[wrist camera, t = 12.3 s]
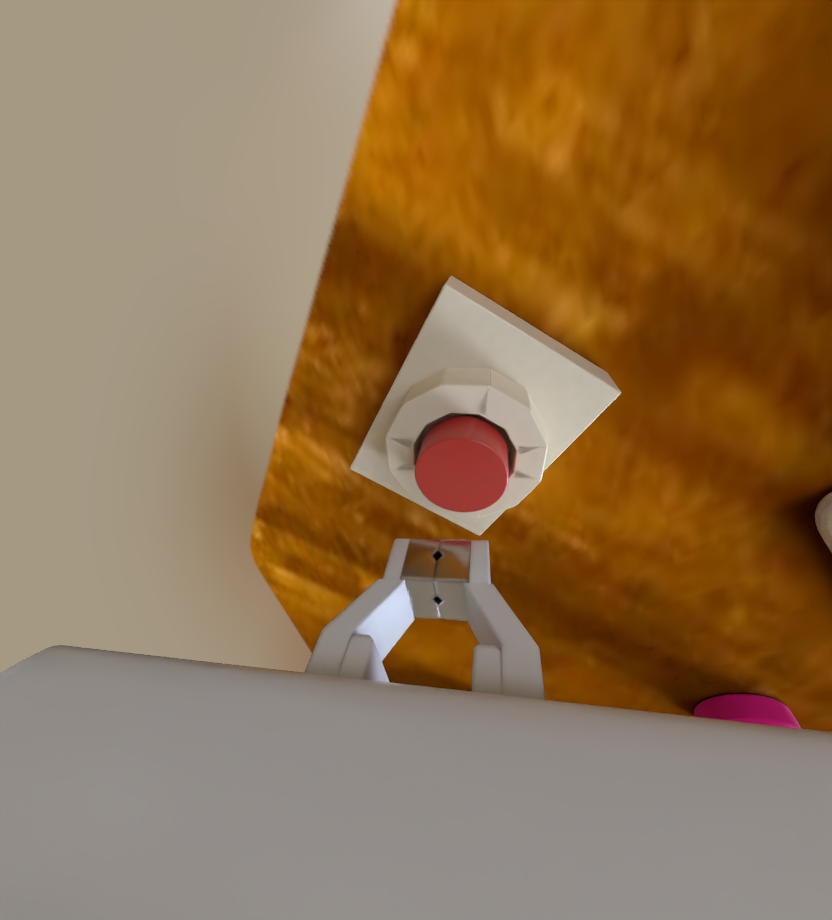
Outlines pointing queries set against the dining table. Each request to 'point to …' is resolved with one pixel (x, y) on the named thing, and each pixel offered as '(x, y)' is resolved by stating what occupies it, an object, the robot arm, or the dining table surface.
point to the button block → (483, 398)
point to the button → (463, 464)
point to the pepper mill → (747, 710)
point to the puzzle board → (825, 519)
